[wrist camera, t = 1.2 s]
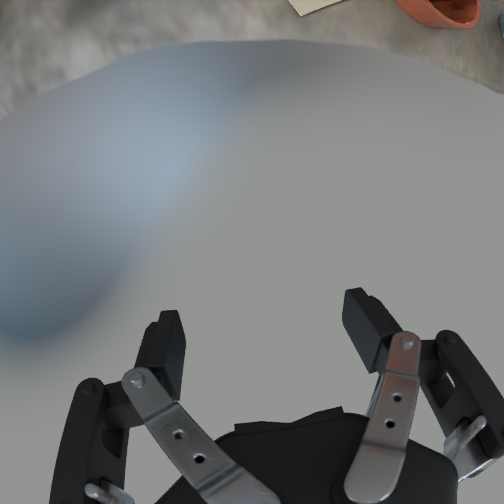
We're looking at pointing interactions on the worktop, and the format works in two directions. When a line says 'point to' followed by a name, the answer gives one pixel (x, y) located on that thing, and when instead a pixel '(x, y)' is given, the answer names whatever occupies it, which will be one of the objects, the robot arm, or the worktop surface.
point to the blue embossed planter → (502, 24)
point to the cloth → (310, 5)
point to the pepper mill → (439, 0)
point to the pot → (443, 12)
